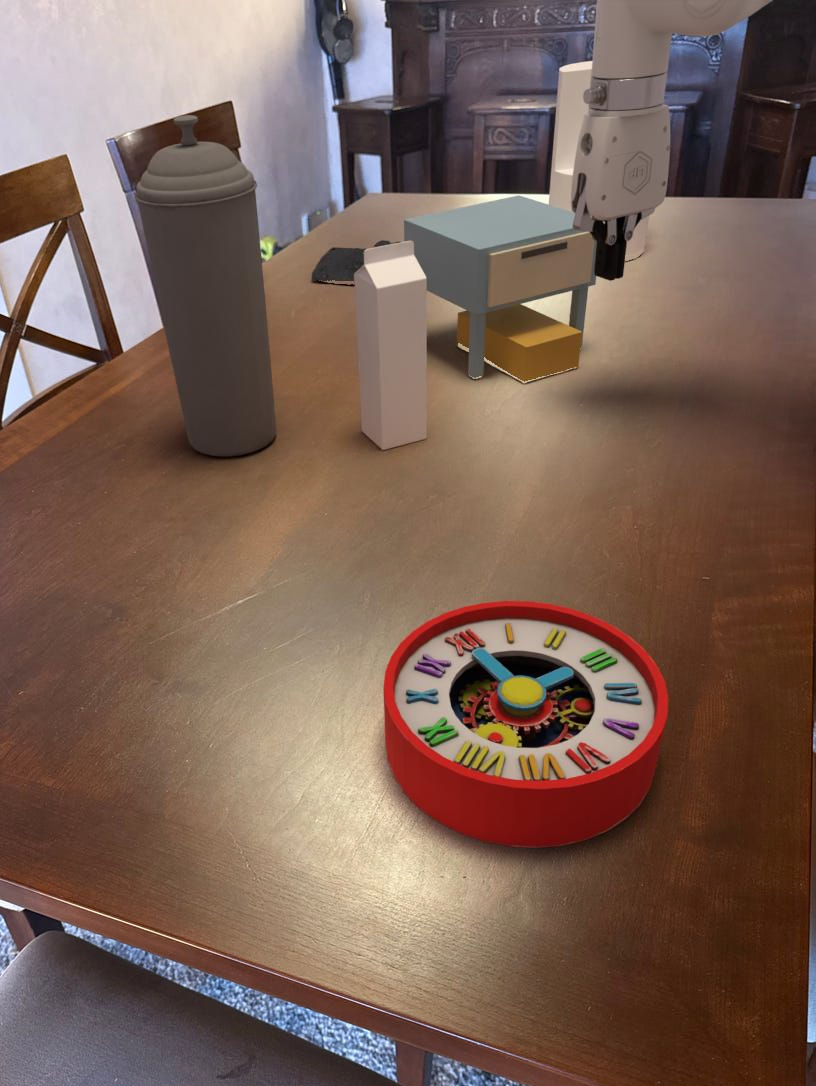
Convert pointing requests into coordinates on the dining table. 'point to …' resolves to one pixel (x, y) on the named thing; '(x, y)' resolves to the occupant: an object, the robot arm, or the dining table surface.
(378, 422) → the milk
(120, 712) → the dining table surface
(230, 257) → the canister
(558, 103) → the cylinder
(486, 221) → the drawer unit
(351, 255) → the dark slate chunk
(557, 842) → the toy clock
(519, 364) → the yellow rectangular block
